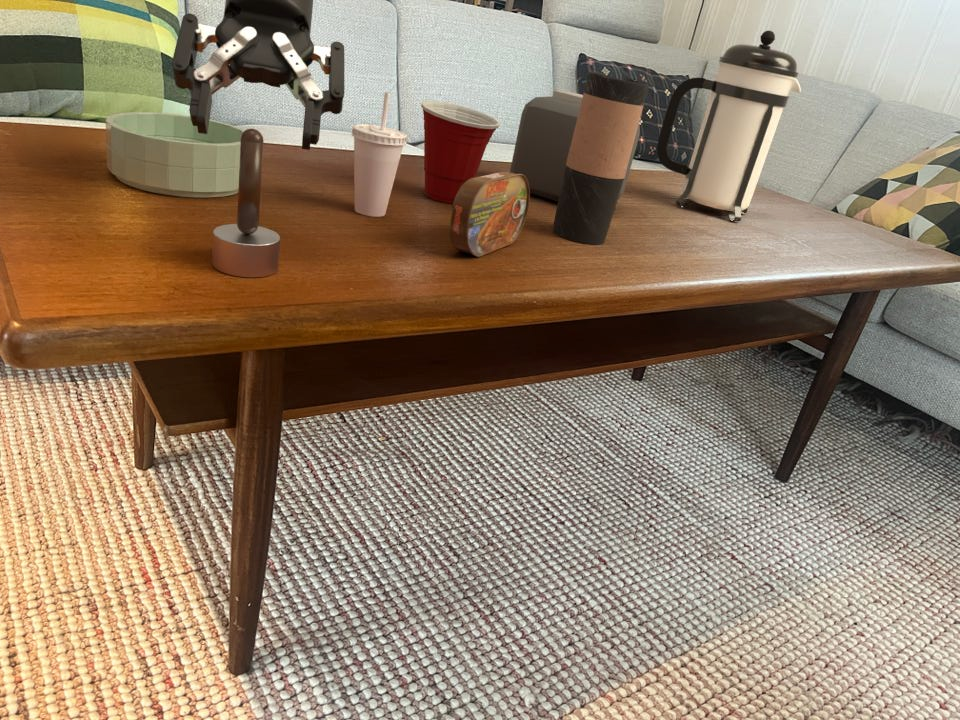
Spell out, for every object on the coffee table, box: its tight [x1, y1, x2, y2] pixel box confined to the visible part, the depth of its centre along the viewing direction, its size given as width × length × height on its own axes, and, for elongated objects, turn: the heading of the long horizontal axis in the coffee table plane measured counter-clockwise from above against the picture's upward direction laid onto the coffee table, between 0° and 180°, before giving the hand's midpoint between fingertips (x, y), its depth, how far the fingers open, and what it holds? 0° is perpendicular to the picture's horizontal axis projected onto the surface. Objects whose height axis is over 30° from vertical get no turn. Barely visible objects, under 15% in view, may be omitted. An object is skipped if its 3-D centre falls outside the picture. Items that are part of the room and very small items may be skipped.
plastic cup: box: [420, 100, 501, 205], centre depth 99 cm, size 11×11×12 cm
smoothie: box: [350, 91, 408, 218], centre depth 85 cm, size 6×6×14 cm
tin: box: [449, 171, 531, 258], centre depth 82 cm, size 15×3×8 cm, turn 151°
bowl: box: [105, 111, 246, 199], centre depth 84 cm, size 15×15×6 cm
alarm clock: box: [509, 89, 641, 203], centre depth 112 cm, size 16×11×16 cm
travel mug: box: [552, 70, 649, 245], centre depth 93 cm, size 8×8×20 cm
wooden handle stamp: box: [211, 128, 281, 279], centre depth 62 cm, size 6×6×12 cm
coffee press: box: [656, 30, 802, 222], centre depth 125 cm, size 17×16×30 cm
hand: (255, 136), depth 62 cm, fingers open, 8 cm apart
